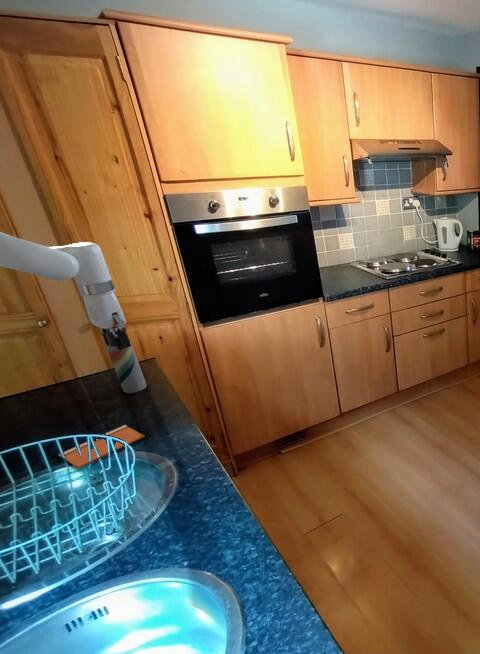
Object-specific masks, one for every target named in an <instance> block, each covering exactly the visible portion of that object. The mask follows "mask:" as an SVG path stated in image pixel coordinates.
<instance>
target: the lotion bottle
mask: <svg viewBox="0 0 480 654" xmlns="http://www.w3.org/2000/svg"><path fill="white" fill-rule="evenodd" d="M117 329H119V328H115V330H116V332H117ZM105 334H106V337H107V339H108V342H109V344H110V345H109V346H108V345H106V351H107V353H108V356H109V358H110V361H111V363H112V366H113V368H114V371H115V373H116V376H117V379H118V380H119V384H120V386H121V389H122V390H123V393H126V394H135V393H138V392H141V391H143V390H145V389H146V388H147V382H146V379H145V377H144V373H143V371H142V369H141V366H140V363H139V361H138V358H137V355H136V353H135V350H134V347H133V345H132V343H131V341H130V343H131V347H128V348H125V349H122V350H118V349H117V346H116V343H115V341H114V338H113V337H115V336H114V335H113V333H112V331H111V329H109V330H107V331H106V333H105Z"/></svg>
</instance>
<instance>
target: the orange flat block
mask: <svg viewBox="0 0 480 654" xmlns="http://www.w3.org/2000/svg"><path fill="white" fill-rule="evenodd" d="M104 434H106V435H110V436H114V437H117V438H120V439H122V440H124V441H126V442H127V443H128V445H131V444H132V443H134V442H135V443H136V441H139V440H142V439H143V438H145V437H146V436H145V434H143V433H141V432H139V431H137V430H135V429H133V428H131V427H128V425H126V424H124V425H122V426H119V427H118V428H115V429H113V430H109V431H108V432H106V433H103V434H102V435H104ZM87 442H88V441H86V442H83V443H80V444H78V446H80V449H81V457H80V455H79V453H78V450H77V448H76V447H77V446H75V447H72V448H70V449H67V450H66V451H63V452H64V455H65V457H66V460H67V461H66V460H65V461H66V462H68V463H69V464H71V466H74V467H76V468H77V469H80V468H83V467H85V466H86V465H89V464H90V463H89V458H88V443H87ZM94 446H95V447H96V448H97V449H98V452H99V455H100V458H99V459H101V458H104V457H105V456H108V455H109V454H108V449H107V444H106V440H104V439H96V441H94ZM124 447H125V446H124V445H123V444H121V443H119V442H116V443H115V448H116V451H118V450H121V449H123V448H124ZM60 454H61V453H59V454H58V457H60V458H61V459H63V458H62V456H61V455H60ZM99 459H98V458H97V455H96V452H95V450H94V448H93V449H91V463H93V462H96V461H97V460H99Z"/></svg>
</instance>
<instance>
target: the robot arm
mask: <svg viewBox="0 0 480 654" xmlns="http://www.w3.org/2000/svg"><path fill="white" fill-rule="evenodd" d="M0 267H2V268H7V269H11V270H15V271H18V272H22V273H26V274H31V275H35V276H37V277H41V278H46V279H49V280H53V281H67V280H71V279H73V280H74V281H75V285H76V286H77V289H78V291H79V294H80V296H81V297H82V298H83V303H84V306H85V309H86V313H87V316H88V319H89V321H90V324H92V326H96V327H98V328H99V330H100V332H101V335H102V338H103V340H104V342H105V345H106V346H109V345H110V344H109V342H108V339H107V337H106V334H105V333H106V331H107V330H109V329H111V331H112V333H113V335H114V336H115V337H113V338H114V341H115V343H116V346H117V349H118V350H122V349H125V348H128V347H131V344H132V343H130V342H131V340H130V338H129V336H128V332H127V325H126V324H127V323H126V318H125V315H124V314H125V313H124V311H123V310H122V307H121V304H120V303H119V300H118V298H117V296H116V294H115V293H114V292H116V291H117V290H116V287H115V284H114V282H113V281H114V280H113V279H112V276H111V273H110V271H109V268H108V265H107V263H106V259H105V257H104V254H103V252H102V249H101V247H100V246H99V245H98V244H97V243H94V242H78V243H77V242H76V243H72V244H67V245H62V246H47V245H43V244H39V243H36V242H33V241H30V240H27V239H23V238H20V237H17V236H13V235H10V234H7V233H4V232H2V231H0ZM115 328H119V329H117V332H116V330H115Z"/></svg>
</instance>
